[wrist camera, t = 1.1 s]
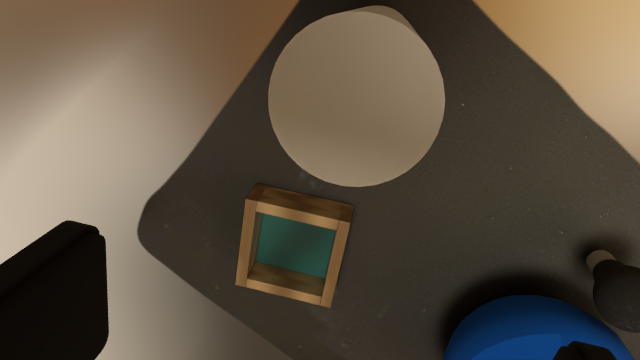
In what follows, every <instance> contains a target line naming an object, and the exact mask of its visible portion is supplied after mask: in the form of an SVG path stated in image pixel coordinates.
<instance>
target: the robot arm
mask: <svg viewBox="0 0 640 360" xmlns="http://www.w3.org/2000/svg"><path fill="white" fill-rule="evenodd" d="M105 243H106V242H105V238H104V236H102V235H100V234H99V230H98V229H97V228H96V227H95V226H91V225H87V224H82V223H78V222H74V221H65V222H62V223H61V224H59V225H58V226H56V227H55V228H53V229H52V230H50V231H49V232H47V233H46V234H44V235H43V236H42V237H40V238H39V239H37V240H36V241H34V242H33V243H31V244H30V245H28V246H27V247H26V248H24V249H22V250H21V251H20V252H18V253H17V254H15V255H14V256H12V257H11V258H9V259H8V260H6V261H5V262H4V263H2V264H1V265H0V360H95V358H96V357H97V356H98V355H99V354H100V352H101V351H102V349H103V348H104V346H105V344H106V342H107V338H108V334H109V333H108V332H109V327H108V300H107V299H108V298H107V270H106V244H105ZM553 360H616V358H615V356H614V355H613V353H612V352H611V351H610V350H609V349H607V348H605V347H600V346H596V345H592V344H588V343H584V342H579V341H572V342H571V343H569V345H568V346H562V347H560V348H559V349H558V351H557V353H556V354H555V356H554V358H553Z"/></svg>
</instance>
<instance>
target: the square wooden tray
mask: <svg viewBox="0 0 640 360" xmlns="http://www.w3.org/2000/svg"><path fill="white" fill-rule="evenodd" d="M353 207H354V206H353V205H349V204H345V203H340V202H336V201H332V200H327V199H323V198H319V197H314V196H310V195H306V194H301V193H297V192H293V191H288V190H284V189H279V188H275V187H271V186H266V185H262V184H258V183H257V184H256V186H255V187H254V188H253V190H252V191H251V192H250V194H249V195H248V196H247V198H246V200H245V209H244V217H243V225H242V234H241V242H240V250H239V258H238V267H237V275H236V283H235V285H239V286H243V287H248V288H252V289H256V290H260V291H264V292H268V293H272V294H276V295H280V296H284V297H288V298H292V299H296V300H300V301H304V302H308V303H312V304H316V305H321V306H324V307H328V308H330V307H331V304H332V299H333V295H334V291H335V287H336V282H337V278H338V274H339V270H340V266H341V261H342V257H343V253H344V249H345V244H346V240H347V236H348V232H349V227H350V223H351V218H352V212H353Z"/></svg>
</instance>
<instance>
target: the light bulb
mask: <svg viewBox="0 0 640 360" xmlns="http://www.w3.org/2000/svg"><path fill="white" fill-rule="evenodd" d="M586 263H587V265H588V267H589V269H590V270H591V272H592V273H593V277H594V280H595V282H594V286H593V300H594V303H595V306H596V308H597V310H598V312H599V313H600V314H601V315H602V317H603V318H604V319H605V320H606V321H608V322H609V323H610V324H612V325H613V326H615V327H617V328H619V329H621V330H624V331H628V332H635V333H640V268H637V267H633V266H627V265H624V264H622V263H621V262H619V261H617V260H616V259H615V258H614V257H613V255H611V254H610V253H608V252H607V251H604V250H597V251H594V252H592V253H591V254H589V255H588V257H587V259H586Z"/></svg>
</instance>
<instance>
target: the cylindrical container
mask: <svg viewBox="0 0 640 360" xmlns="http://www.w3.org/2000/svg"><path fill="white" fill-rule="evenodd" d="M268 104H269V114H270V118H271V122H272V126H273V129H274V132H275V134H276V136H277V138H278V140H279V142H280V144H281V145H282V147H283V148H284V150H285V151H286V152H287V154H288V155H289V156H290V157H291V158H292V159H293V160H294V161H295V162H296V163H297V164H298V165H299V166H300V167H301V168H303V169H304V170H306V171H307V172H308V173H310V174H311V175H313V176H315V177H317V178H320V179H322V180H324V181H326V182H329V183H333V184H337V185H341V186H353V187H363V186H371V185H377V184H380V183H383V182H386V181H389V180H392V179H394V178H396V177H398V176H400V175H401V174H403V173H405V172H407V171H408V170H409V169H411V168H412V167H413V166H414V165H415V164H417V163H418V162H419V161H420V160H421V159H422V157H423V156H424V155H425V154H426V153H427V151H428V150H429V149H430V147H431V145H432V144H433V142H434V140H435V138H436V137H437V135H438V132H439V129H440V126H441V123H442V120H443V114H444V105H445V94H444V84H443V79H442V76H441V73H440V70H439V67H438V64H437V62H436V60H435V58H434V57H433V55H432V53H431V51H430V50H429V48H428V47H427V45H426V44H425V43H424V41H423V40H422V39H421V38H420V36H419V35H418V34H417V33H416V31H415V30H414V29H413V27H412V26H411V25H410V24H409V22H408V21H407V20H406V19H405V18H404V17H403V16H402V15H401V14H400V13H399V12H397V11H396V10H394V9H392V8H390V7H386V6H381V5H373V6H368V7H363V8H358V9H354V10H350V11H346V12H341V13H337V14H333V15H329V16H326V17H324V18H322V19H320V20H317V21H315V22H313V23H311V24H309V25H308V26H307V27H305V28H304V29H303V30H301V31H300V32H299V33H297V34H296V35H295V36H294V37H293V39H292V40H291V41H290V42H289V43H288V44H287V45H286V46H285V48H284V49H283V51H282V53H281V54H280V56H279V58H278V59H277V61H276V64H275V67H274V69H273V72H272V75H271V78H270V85H269V91H268Z"/></svg>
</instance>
